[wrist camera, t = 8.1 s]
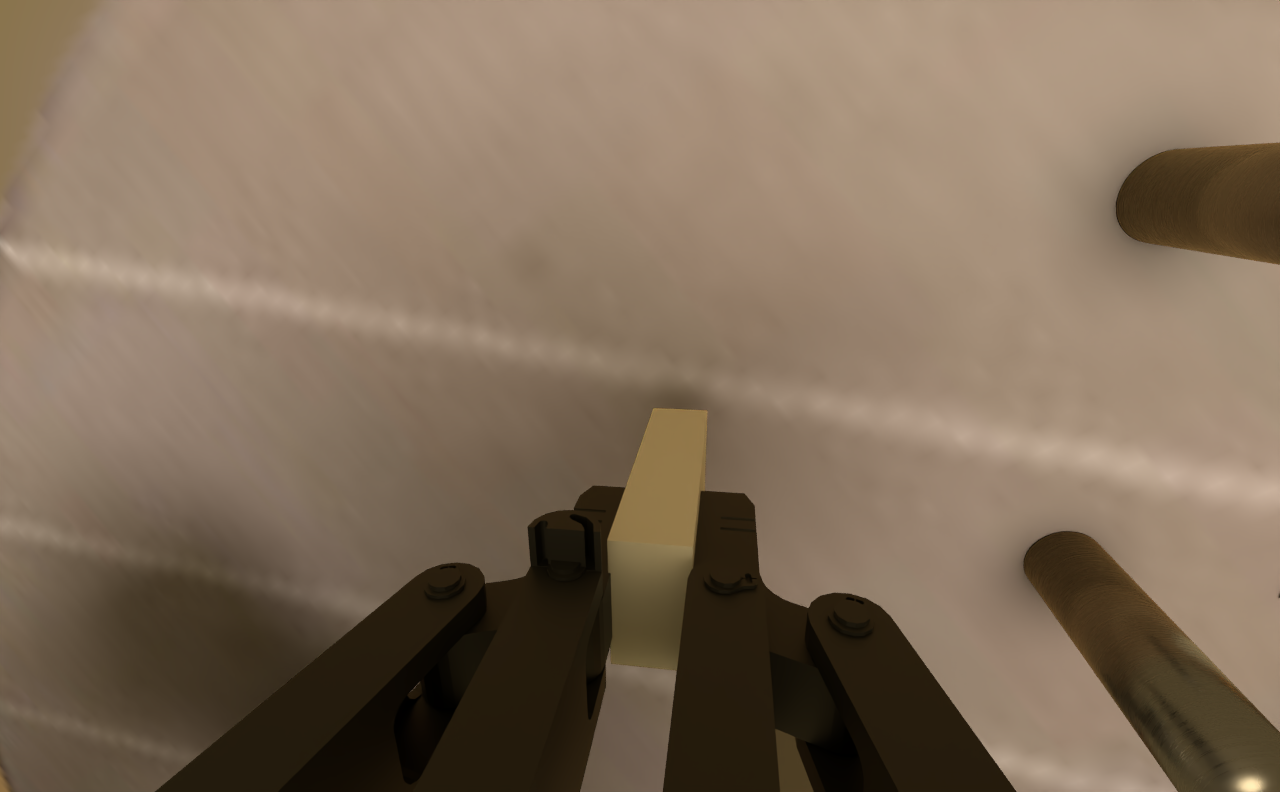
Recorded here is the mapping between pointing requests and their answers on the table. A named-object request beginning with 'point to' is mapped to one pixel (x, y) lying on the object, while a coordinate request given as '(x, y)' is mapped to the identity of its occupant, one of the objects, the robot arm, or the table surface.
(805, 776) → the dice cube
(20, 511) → the table surface
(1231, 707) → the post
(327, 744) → the robot arm
